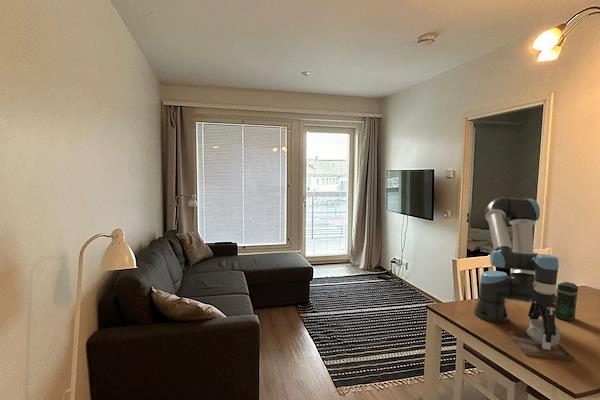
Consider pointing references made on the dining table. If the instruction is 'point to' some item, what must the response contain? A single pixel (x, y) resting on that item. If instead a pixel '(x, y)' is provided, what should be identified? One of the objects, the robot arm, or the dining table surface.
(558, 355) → the shallow tray
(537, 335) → the teacup
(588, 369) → the dining table surface
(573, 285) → the coffee jar
